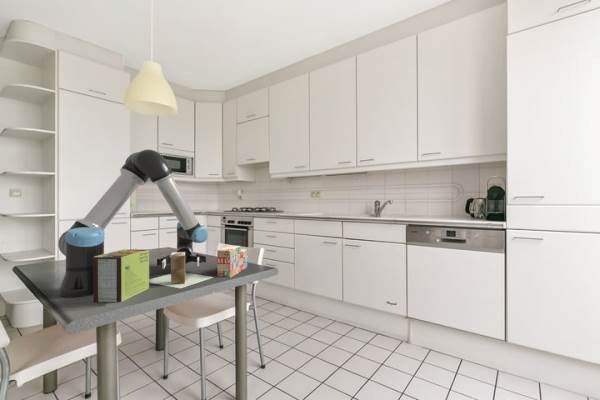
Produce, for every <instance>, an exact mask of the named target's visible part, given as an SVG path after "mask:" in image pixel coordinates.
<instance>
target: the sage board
mask: <svg viewBox="0 0 600 400" xmlns="http://www.w3.org/2000/svg"><path fill="white" fill-rule="evenodd" d="M214 278H215V277H214V276H209V275H202V274H196V273H187V272H185V284H176V285H171V273H169V274H164V275H161V276H158V277H153V278H149V284H150V283H151V284H156V285H161V286H165V287H171V288H176V289H183V288H186V287H188V286H192V285H195V284H198V283H201V282H203V281H208V280H211V279H214Z"/></svg>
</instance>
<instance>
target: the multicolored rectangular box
mask: <svg viewBox="0 0 600 400" xmlns="http://www.w3.org/2000/svg"><path fill="white" fill-rule="evenodd" d="M216 255H217V256H216V257H217V260H216V261H217V262H216V264H217V267H216V269H217V272H216V274H217V275H216V276H217V277H228V278H232V277H234V276H235V275H238V274H239V273H241V272H242V271H244V270H245V269H247V268H249V267H248V266H249V265H248V264H249V263H248V260H249V259H248V258H249V256H248V249H247V248H246V249H245V248H241V245H227V246H225V247H222V248H219V249H217V253H216Z"/></svg>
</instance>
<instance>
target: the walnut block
mask: <svg viewBox="0 0 600 400" xmlns="http://www.w3.org/2000/svg"><path fill="white" fill-rule="evenodd" d="M170 256H171V263H170V274H171V285H176V284H185V273H186V264H185V252H177V251H175V252H171V253H170Z"/></svg>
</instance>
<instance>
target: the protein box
mask: <svg viewBox="0 0 600 400" xmlns="http://www.w3.org/2000/svg"><path fill="white" fill-rule="evenodd" d="M149 279H150V250H149V249H145V248H144V249H142V248H141V249H137V248H135V249H134V248H133V249H131V248H129V249H128V248H125V249H120V250H115V251H111V252H107V253H104V254H103V255H99V256H95V257H93V294H92V295H93V301H92V302H93V303H98V304H99V303H101V304H107V303H110V302H114V303H116V302H117V303H118V302H119V303H122V302H124V301H126V300H128V299H130V298H132V297H134V296H136V295H138V294H141V293H142V292H144V291H146V290H149V289H150V283H149Z"/></svg>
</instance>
